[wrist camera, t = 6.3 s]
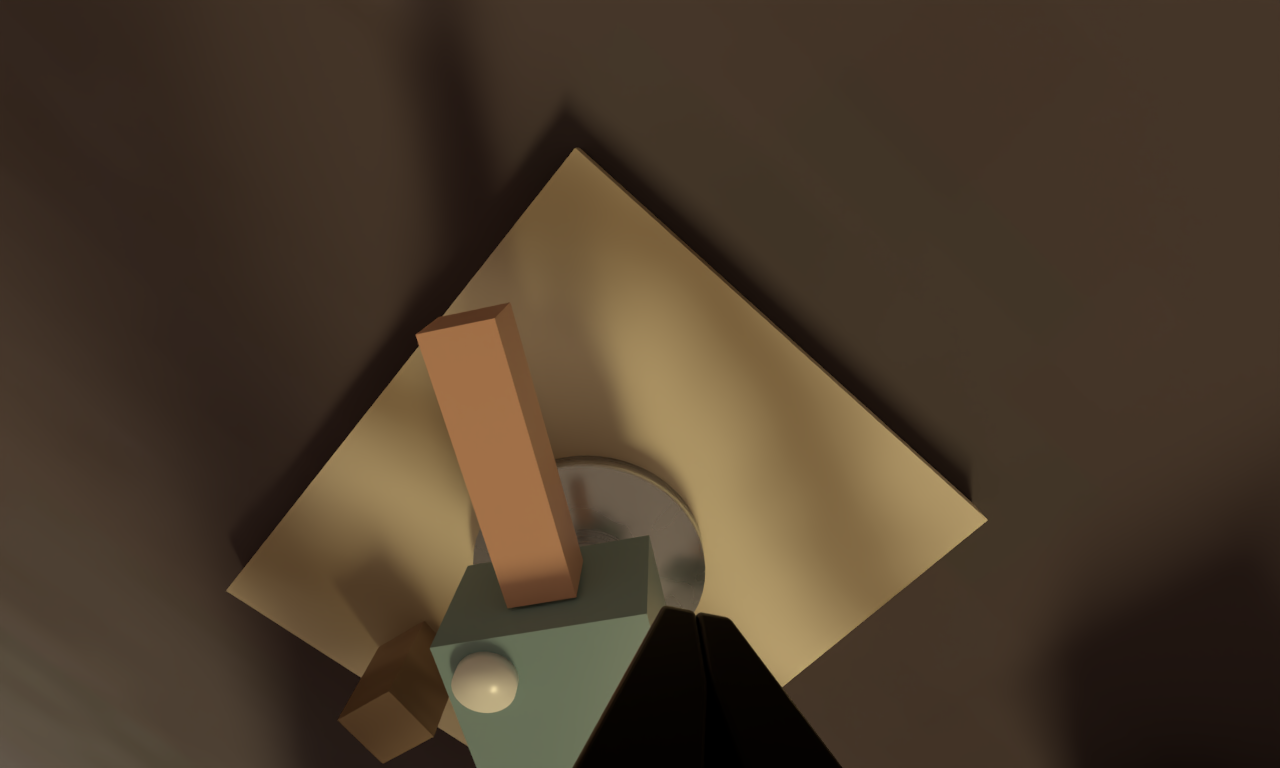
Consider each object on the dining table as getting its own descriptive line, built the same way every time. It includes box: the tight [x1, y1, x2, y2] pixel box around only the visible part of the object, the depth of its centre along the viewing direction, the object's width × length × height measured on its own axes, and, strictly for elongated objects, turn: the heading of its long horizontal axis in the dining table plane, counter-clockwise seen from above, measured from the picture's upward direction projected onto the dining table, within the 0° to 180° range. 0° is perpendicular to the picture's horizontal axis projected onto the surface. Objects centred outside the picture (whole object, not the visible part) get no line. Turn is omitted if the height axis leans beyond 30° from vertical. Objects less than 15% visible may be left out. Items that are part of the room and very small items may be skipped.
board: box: [226, 148, 987, 746], centre depth 21 cm, size 18×16×1 cm
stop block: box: [338, 621, 449, 764], centre depth 21 cm, size 2×2×3 cm
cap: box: [416, 302, 666, 768], centre depth 15 cm, size 11×5×3 cm, turn 12°
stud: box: [473, 455, 705, 612], centre depth 19 cm, size 7×7×3 cm
